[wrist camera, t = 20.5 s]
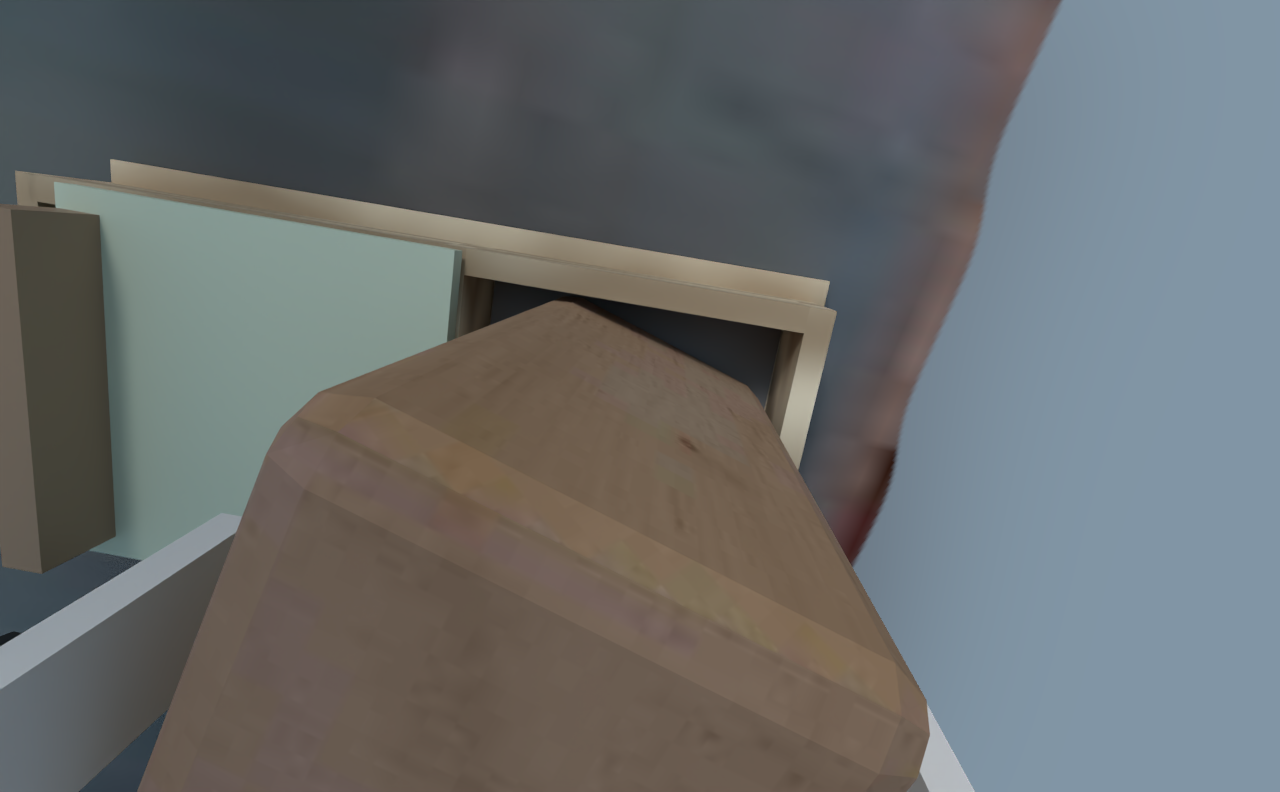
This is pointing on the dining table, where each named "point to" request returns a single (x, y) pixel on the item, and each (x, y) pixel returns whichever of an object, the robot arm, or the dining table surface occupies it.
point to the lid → (178, 357)
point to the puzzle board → (560, 281)
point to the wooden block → (538, 590)
